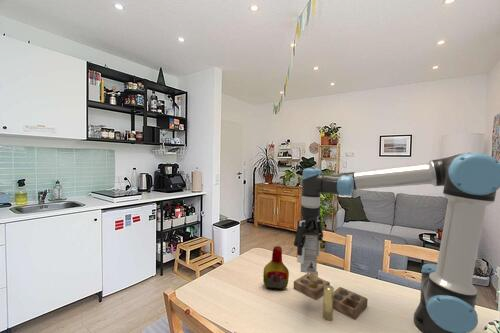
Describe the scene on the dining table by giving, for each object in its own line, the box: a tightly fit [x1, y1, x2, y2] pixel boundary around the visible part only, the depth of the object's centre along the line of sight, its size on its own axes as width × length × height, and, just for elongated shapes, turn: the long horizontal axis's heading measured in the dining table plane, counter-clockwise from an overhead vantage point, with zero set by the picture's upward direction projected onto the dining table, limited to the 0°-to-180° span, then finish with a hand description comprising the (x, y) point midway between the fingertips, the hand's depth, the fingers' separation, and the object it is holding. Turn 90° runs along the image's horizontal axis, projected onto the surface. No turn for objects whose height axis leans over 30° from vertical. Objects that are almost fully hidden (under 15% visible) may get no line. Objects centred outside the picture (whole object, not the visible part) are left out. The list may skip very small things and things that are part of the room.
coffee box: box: [300, 228, 318, 274], centre depth 99 cm, size 9×6×16 cm
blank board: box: [333, 286, 368, 320], centre depth 100 cm, size 12×12×4 cm
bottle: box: [262, 245, 290, 291], centre depth 113 cm, size 12×6×20 cm, turn 76°
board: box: [293, 270, 331, 301], centre depth 113 cm, size 12×12×10 cm
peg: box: [322, 285, 335, 322], centre depth 93 cm, size 4×4×12 cm
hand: (308, 258), depth 99 cm, fingers closed on coffee box, 11 cm apart
